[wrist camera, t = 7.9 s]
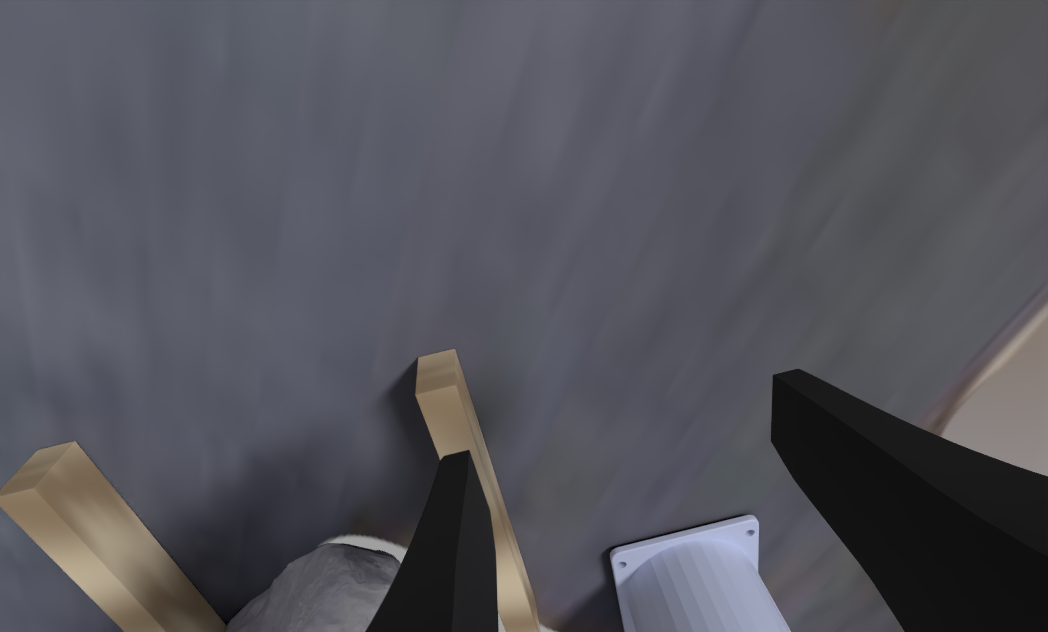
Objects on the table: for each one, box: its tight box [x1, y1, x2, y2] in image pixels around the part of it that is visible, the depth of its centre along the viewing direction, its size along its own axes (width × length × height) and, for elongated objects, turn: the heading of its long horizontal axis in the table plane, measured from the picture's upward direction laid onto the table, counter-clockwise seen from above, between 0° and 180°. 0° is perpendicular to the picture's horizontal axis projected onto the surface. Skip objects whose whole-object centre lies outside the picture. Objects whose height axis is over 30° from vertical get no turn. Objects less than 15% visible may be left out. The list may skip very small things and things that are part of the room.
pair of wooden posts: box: [0, 349, 540, 632], centre depth 25 cm, size 17×17×2 cm
